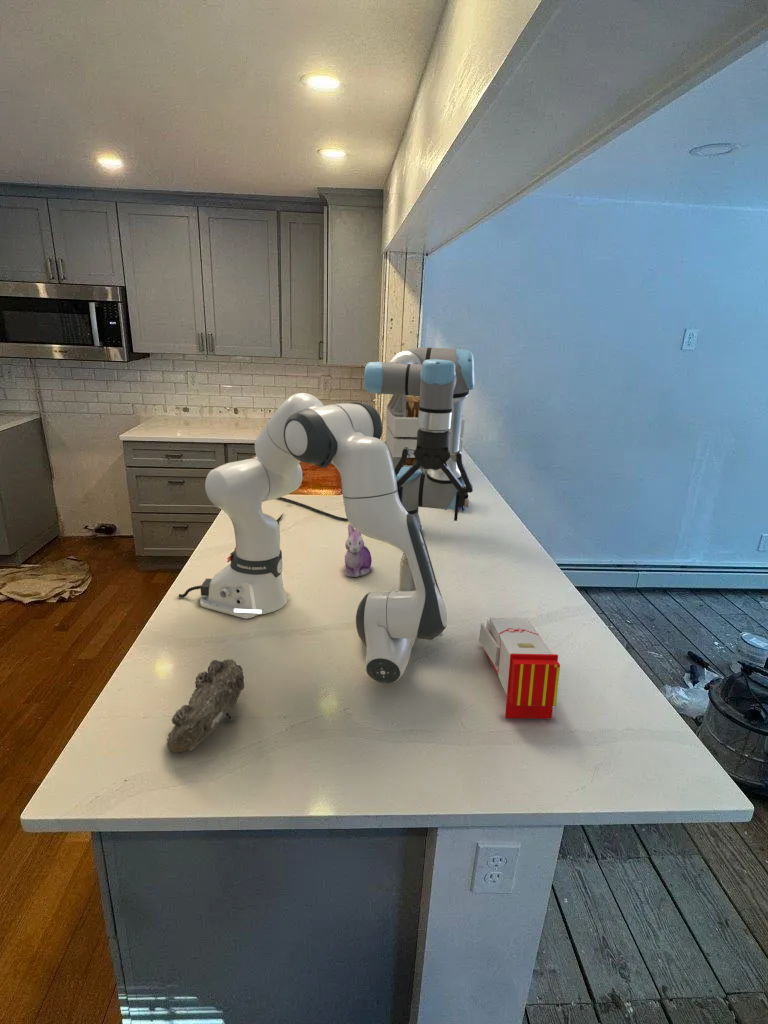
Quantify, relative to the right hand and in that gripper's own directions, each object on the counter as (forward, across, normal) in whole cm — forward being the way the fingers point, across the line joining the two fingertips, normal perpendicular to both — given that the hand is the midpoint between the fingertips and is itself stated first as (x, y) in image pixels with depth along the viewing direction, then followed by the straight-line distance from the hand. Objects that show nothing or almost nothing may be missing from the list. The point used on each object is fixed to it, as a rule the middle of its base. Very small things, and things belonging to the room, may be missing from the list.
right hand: (427, 516), depth 137 cm
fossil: (+28, +36, +46) cm, 64 cm away
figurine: (+28, +21, -23) cm, 41 cm away
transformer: (+27, +12, -136) cm, 139 cm away
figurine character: (+27, -8, -91) cm, 95 cm away
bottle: (+28, +3, +3) cm, 28 cm away
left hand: (+22, +3, +4) cm, 22 cm away
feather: (+27, +57, -61) cm, 87 cm away
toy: (+28, -22, +21) cm, 41 cm away
